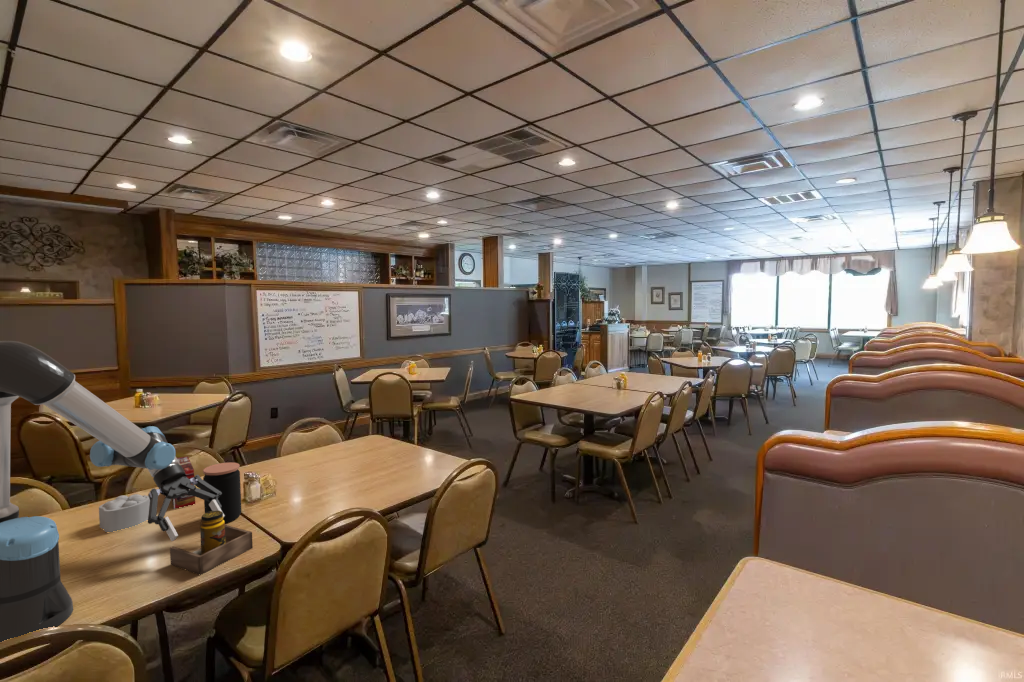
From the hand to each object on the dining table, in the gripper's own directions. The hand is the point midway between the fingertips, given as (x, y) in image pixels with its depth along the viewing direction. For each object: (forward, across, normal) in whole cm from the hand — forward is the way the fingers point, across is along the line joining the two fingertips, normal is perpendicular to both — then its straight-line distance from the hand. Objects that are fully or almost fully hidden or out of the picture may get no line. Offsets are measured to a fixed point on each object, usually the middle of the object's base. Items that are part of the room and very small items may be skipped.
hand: (199, 528), depth 138 cm
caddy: (+10, 0, 0) cm, 10 cm away
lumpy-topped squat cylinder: (-23, -1, -34) cm, 41 cm away
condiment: (+9, +1, 0) cm, 9 cm away
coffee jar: (-5, -17, -15) cm, 23 cm away
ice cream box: (-27, -22, -38) cm, 51 cm away
